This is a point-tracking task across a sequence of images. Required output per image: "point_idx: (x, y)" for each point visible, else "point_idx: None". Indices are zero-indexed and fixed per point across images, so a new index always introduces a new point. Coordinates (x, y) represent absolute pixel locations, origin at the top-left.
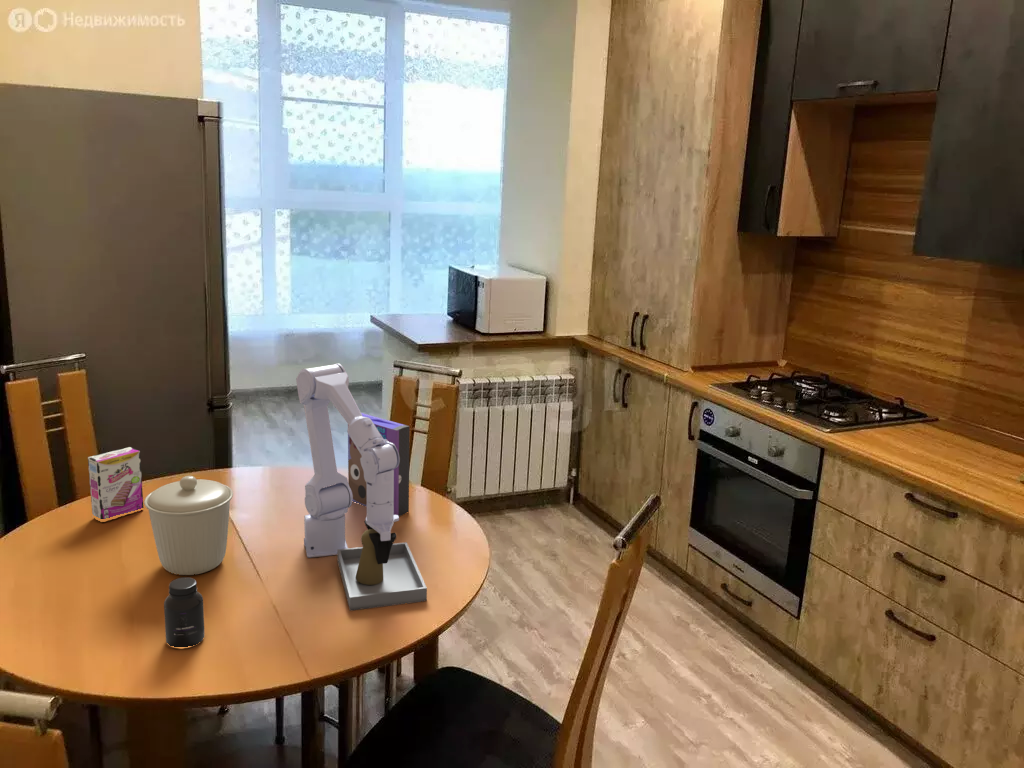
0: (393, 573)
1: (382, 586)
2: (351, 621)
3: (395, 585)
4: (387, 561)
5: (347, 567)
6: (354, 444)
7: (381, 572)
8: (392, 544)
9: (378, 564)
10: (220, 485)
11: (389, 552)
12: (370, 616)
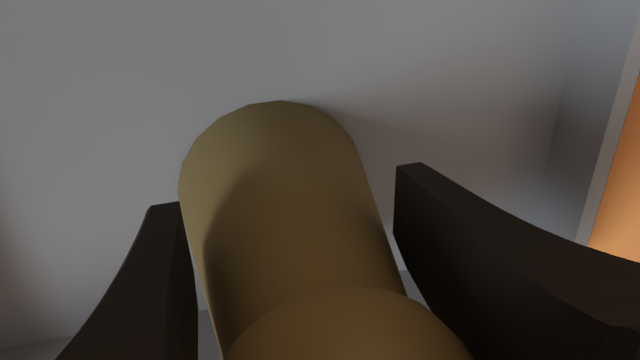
0: (201, 22)
1: (379, 107)
2: (611, 231)
3: (391, 20)
4: (429, 167)
5: (91, 308)
6: None
7: (336, 148)
8: (611, 255)
9: (376, 213)
10: None
11: (500, 210)
12: (616, 158)
